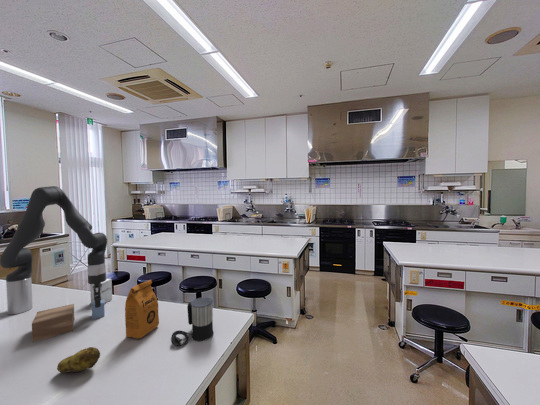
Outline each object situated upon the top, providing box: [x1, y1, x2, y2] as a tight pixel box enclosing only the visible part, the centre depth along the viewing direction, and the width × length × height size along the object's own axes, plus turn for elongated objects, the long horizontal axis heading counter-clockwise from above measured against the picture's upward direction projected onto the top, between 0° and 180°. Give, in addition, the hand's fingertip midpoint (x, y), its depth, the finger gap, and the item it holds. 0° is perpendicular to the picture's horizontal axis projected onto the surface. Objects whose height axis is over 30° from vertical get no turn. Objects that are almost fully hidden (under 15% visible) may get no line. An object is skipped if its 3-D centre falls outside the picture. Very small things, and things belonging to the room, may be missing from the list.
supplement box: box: [89, 278, 113, 305], centre depth 136 cm, size 7×7×13 cm
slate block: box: [91, 299, 106, 320], centre depth 121 cm, size 5×5×7 cm
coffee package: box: [124, 279, 160, 339], centre depth 105 cm, size 10×12×22 cm
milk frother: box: [170, 296, 215, 348], centre depth 100 cm, size 14×16×15 cm
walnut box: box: [31, 303, 76, 343], centre depth 108 cm, size 13×13×8 cm
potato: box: [56, 346, 101, 374], centre depth 82 cm, size 8×13×8 cm, turn 71°
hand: (98, 304), depth 120 cm, fingers open, 8 cm apart
